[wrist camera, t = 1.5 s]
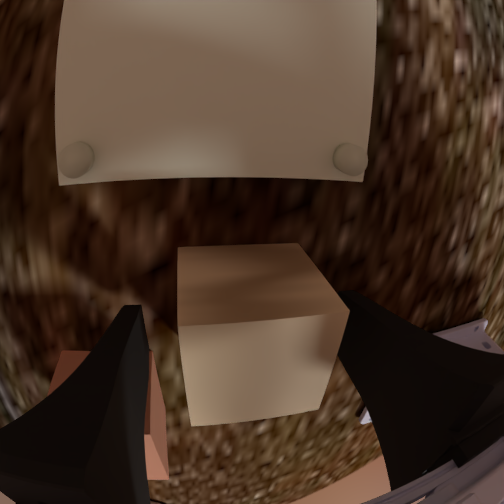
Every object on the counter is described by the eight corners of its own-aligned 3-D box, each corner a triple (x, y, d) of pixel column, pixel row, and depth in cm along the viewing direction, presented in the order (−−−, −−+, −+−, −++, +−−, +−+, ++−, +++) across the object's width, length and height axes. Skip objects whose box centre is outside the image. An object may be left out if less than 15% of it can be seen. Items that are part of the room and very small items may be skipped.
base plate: (360, -55, 7) (381, -68, 5) (349, 175, 11) (371, 186, 10) (93, -74, 5) (83, -93, 3) (69, 178, 9) (52, 190, 8)
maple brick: (297, 242, 12) (350, 310, 8) (284, 332, 14) (318, 409, 10) (177, 246, 11) (177, 326, 7) (184, 340, 13) (191, 426, 9)
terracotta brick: (152, 349, 13) (150, 434, 9) (165, 407, 15) (169, 479, 11) (62, 348, 12) (39, 425, 8) (88, 406, 14) (79, 474, 10)
